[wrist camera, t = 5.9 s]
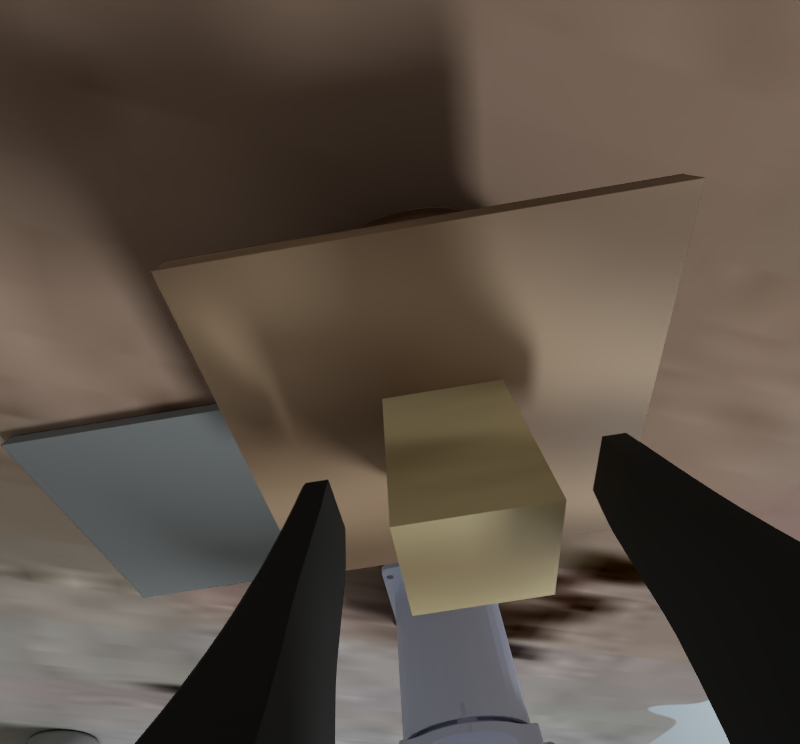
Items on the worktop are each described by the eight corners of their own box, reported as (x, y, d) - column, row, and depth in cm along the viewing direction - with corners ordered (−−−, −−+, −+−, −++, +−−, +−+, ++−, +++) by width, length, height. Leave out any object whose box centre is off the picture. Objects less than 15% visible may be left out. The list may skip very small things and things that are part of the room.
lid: (608, 512, 17) (694, 651, 12) (305, 559, 17) (284, 712, 13) (682, 173, 10) (941, 216, 5) (165, 260, 10) (5, 371, 6)
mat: (348, 558, 27) (348, 566, 26) (147, 588, 27) (143, 597, 27) (287, 392, 19) (285, 399, 19) (10, 436, 20) (0, 445, 19)
